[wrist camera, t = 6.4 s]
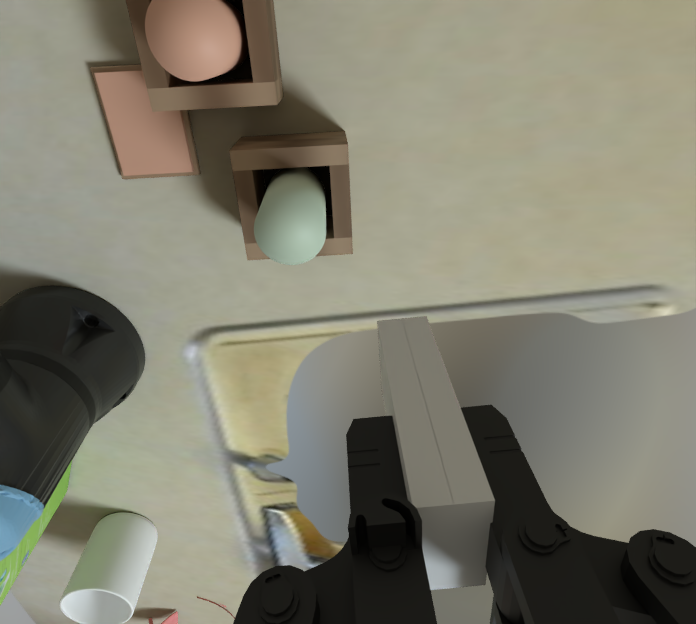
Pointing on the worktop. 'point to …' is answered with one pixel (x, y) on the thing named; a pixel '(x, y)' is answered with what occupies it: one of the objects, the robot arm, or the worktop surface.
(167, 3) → the pink rounded cylinder
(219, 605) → the figurine
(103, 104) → the tile
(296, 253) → the sage plunger
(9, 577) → the toothbrush box
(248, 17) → the brown housing
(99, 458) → the worktop surface
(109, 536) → the mug
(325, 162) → the square brown wooden frame
